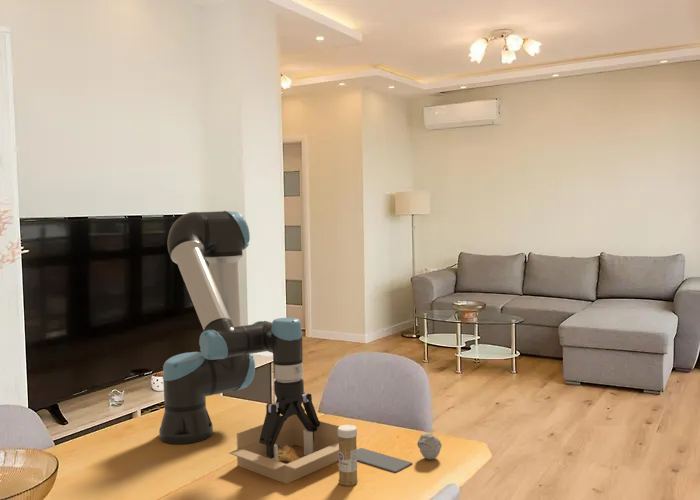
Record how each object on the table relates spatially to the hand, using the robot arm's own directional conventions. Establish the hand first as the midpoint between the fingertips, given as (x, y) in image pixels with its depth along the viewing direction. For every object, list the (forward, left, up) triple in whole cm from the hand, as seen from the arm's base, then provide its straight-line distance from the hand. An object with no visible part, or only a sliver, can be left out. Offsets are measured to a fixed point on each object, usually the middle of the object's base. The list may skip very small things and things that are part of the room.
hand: (291, 462), depth 172 cm
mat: (+16, +15, 0) cm, 22 cm away
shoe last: (-1, +1, -1) cm, 1 cm away
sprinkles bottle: (+20, 0, 0) cm, 20 cm away
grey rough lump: (+26, +24, 0) cm, 35 cm away
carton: (+1, -1, 0) cm, 1 cm away
